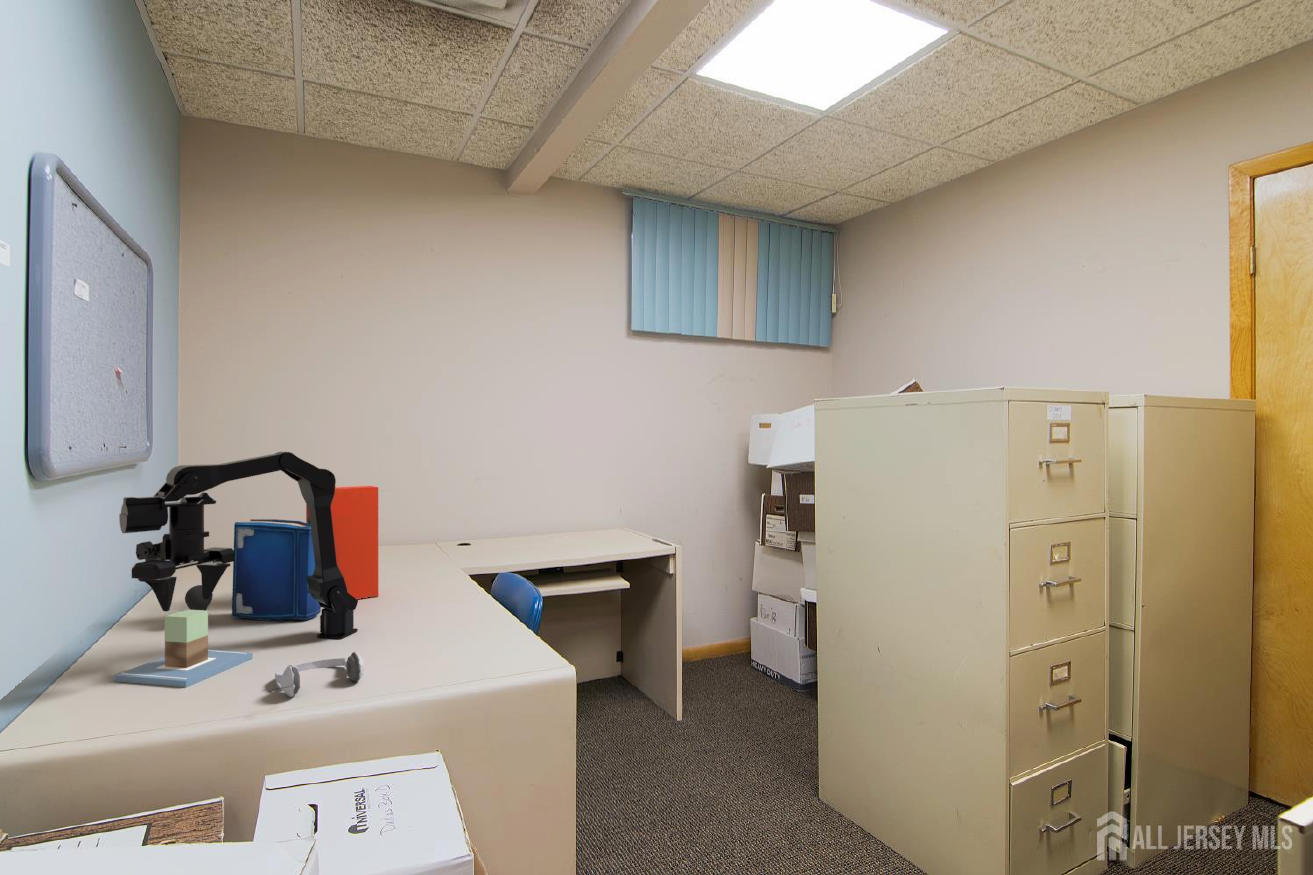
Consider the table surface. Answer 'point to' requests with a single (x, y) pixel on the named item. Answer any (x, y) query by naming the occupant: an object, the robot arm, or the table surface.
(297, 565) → the book
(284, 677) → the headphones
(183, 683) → the board
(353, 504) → the file binder
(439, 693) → the table surface
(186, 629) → the green block
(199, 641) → the walnut block
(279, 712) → the table surface
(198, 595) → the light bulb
